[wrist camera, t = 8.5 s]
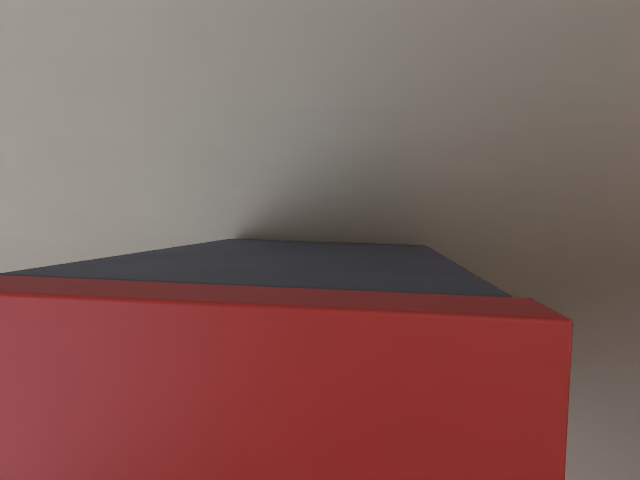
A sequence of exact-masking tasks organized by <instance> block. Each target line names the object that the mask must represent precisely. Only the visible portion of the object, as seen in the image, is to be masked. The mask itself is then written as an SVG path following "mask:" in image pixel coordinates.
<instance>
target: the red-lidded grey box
mask: <svg viewBox="0 0 640 480" xmlns="http://www.w3.org/2000/svg"><path fill="white" fill-rule="evenodd" d="M572 328H573V323H572V321H571V319H569V318H567V317H565V316H563V315H561V314H559V313H557V312H555V311H554V310H552V309H550V308H548V307H546V306H544V305H542V304H540V303H538V302H537V301H535V300H533V299H530V298H514V297H512V296H510V295H509V294H507V293H505V292H504V291H502V290H500V289H499V288H497V287H495V286H493V285H492V284H490V283H488V282H487V281H485V280H483V279H482V278H480V277H478V276H476V275H475V274H473V273H471V272H470V271H468V270H466V269H464V268H463V267H461V266H459V265H458V264H456V263H454V262H453V261H451V260H449V259H447V258H446V257H444V256H442V255H441V254H439V253H437V252H436V251H434V250H432V249H430V248H429V247H427V246H424V245H394V244H364V243H335V242H305V241H276V240H246V239H226V240H219V241H213V242H206V243H199V244H193V245H186V246H179V247H173V248H166V249H159V250H153V251H146V252H139V253H133V254H126V255H119V256H113V257H106V258H99V259H93V260H86V261H79V262H73V263H66V264H59V265H53V266H46V267H39V268H33V269H26V270H19V271H13V272H6V273H0V480H565V462H566V443H567V424H568V404H569V385H570V366H571V347H572Z"/></svg>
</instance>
